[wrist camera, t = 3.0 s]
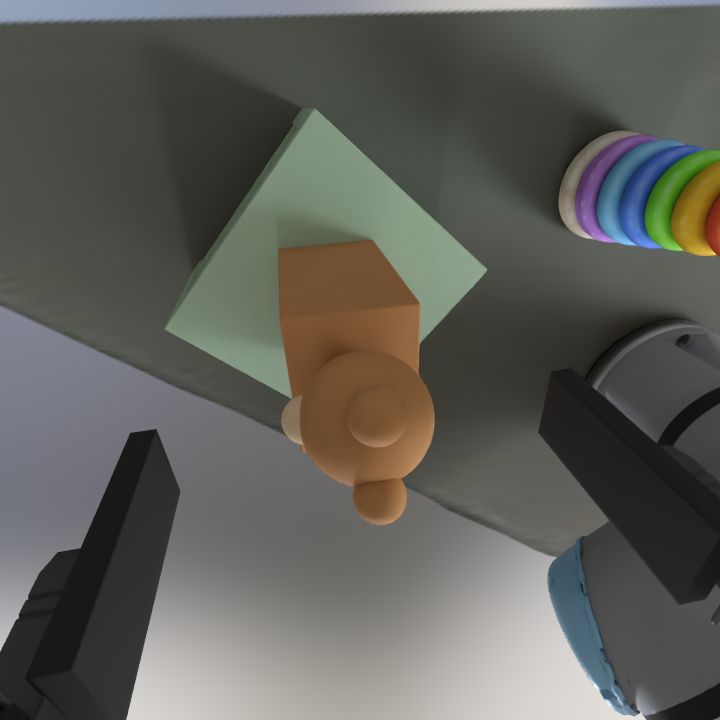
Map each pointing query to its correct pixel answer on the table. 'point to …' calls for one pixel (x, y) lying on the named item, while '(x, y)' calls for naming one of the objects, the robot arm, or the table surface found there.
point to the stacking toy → (644, 193)
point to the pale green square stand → (308, 228)
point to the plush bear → (354, 371)
